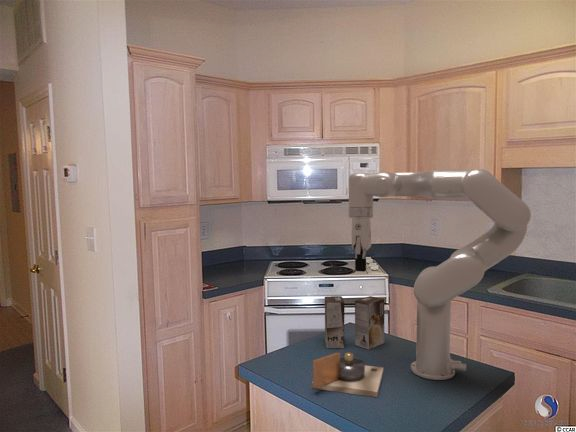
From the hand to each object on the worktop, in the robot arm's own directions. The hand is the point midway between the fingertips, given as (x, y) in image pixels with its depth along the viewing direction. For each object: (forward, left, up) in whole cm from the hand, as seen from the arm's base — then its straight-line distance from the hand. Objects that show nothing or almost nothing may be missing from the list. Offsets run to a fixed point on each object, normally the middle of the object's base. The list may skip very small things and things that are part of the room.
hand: (360, 270), depth 138 cm
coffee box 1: (+11, -12, -29) cm, 34 cm away
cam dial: (+3, +18, -27) cm, 33 cm away
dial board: (+1, +15, -29) cm, 33 cm away
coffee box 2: (-1, -15, -29) cm, 33 cm away
